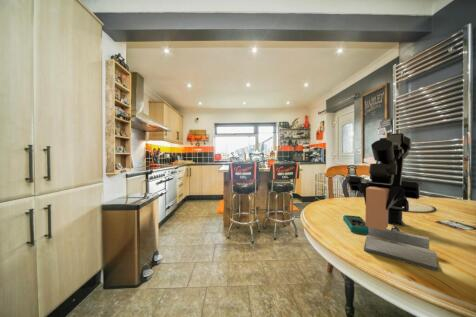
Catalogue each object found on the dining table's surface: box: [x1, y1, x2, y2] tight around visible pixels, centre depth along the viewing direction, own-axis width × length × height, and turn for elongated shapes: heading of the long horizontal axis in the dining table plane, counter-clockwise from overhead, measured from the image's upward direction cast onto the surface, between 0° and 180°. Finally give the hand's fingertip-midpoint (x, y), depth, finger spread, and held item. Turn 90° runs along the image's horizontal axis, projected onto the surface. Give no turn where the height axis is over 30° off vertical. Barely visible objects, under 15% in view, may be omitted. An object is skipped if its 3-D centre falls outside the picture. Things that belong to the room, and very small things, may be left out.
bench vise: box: [363, 225, 440, 272], centre depth 59 cm, size 20×16×4 cm
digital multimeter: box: [342, 214, 369, 235], centre depth 76 cm, size 7×15×3 cm, turn 161°
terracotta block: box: [364, 186, 389, 231], centre depth 59 cm, size 5×5×12 cm
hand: (376, 207), depth 58 cm, fingers closed on terracotta block, 5 cm apart
